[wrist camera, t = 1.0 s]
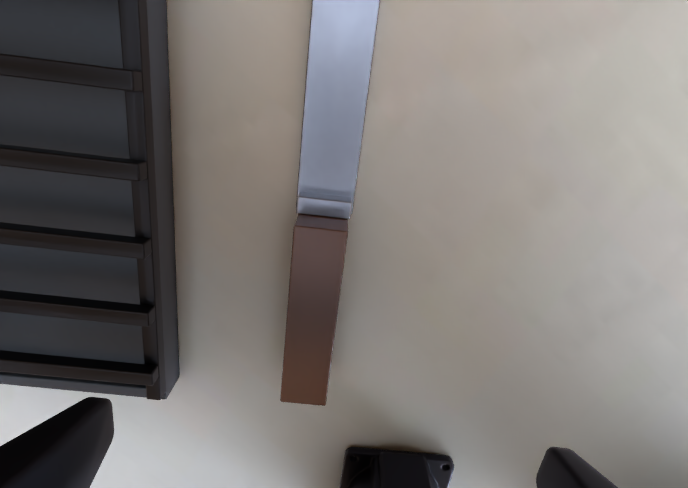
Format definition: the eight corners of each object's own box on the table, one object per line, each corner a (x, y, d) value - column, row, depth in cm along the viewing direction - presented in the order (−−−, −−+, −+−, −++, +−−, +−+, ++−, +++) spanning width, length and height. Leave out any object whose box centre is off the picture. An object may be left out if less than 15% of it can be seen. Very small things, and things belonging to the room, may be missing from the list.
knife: (331, 369, 22) (329, 406, 19) (284, 364, 22) (275, 401, 19) (393, -104, 14) (403, -147, 12) (321, -114, 14) (316, -160, 12)
